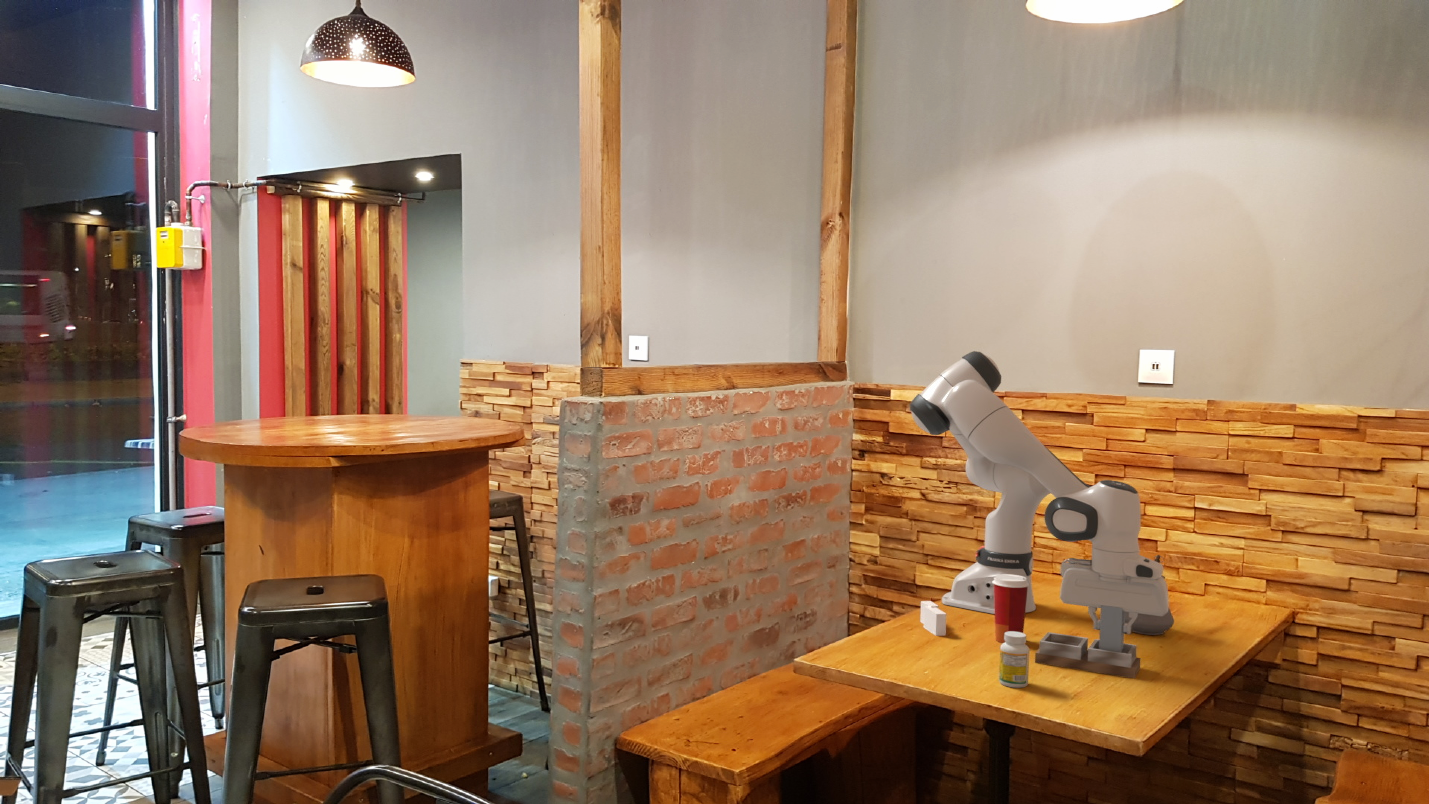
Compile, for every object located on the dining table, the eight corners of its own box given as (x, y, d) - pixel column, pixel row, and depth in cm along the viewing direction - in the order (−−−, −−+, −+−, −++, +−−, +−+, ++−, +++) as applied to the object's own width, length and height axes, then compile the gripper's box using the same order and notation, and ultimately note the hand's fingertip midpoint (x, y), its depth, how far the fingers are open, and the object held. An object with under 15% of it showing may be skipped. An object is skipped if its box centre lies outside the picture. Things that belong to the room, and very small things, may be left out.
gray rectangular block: (1098, 650, 209) (1100, 605, 209) (1102, 645, 213) (1104, 601, 212) (1120, 653, 207) (1122, 608, 207) (1123, 648, 211) (1125, 604, 210)
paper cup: (1028, 638, 231) (1030, 575, 231) (1026, 647, 224) (1028, 582, 223) (991, 634, 234) (993, 572, 233) (988, 643, 227) (990, 579, 226)
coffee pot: (1169, 640, 232) (1172, 573, 231) (1115, 632, 238) (1117, 566, 237) (1182, 619, 250) (1185, 557, 249) (1131, 612, 256) (1134, 551, 255)
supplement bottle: (1020, 690, 196) (1022, 639, 196) (994, 683, 200) (995, 634, 199) (1032, 683, 200) (1034, 634, 200) (1006, 677, 204) (1008, 628, 203)
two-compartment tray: (1034, 662, 214) (1035, 640, 213) (1043, 652, 221) (1044, 631, 220) (1134, 678, 204) (1135, 655, 204) (1140, 667, 211) (1141, 645, 211)
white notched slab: (950, 641, 229) (951, 616, 229) (900, 634, 234) (901, 609, 234) (966, 625, 243) (967, 601, 242) (918, 619, 248) (919, 595, 247)
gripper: (1057, 559, 211) (1055, 627, 212) (1167, 572, 201) (1164, 643, 202) (1064, 554, 217) (1061, 620, 218) (1171, 566, 207) (1168, 635, 207)
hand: (1112, 631), depth 210 cm, fingers closed on gray rectangular block, 4 cm apart
